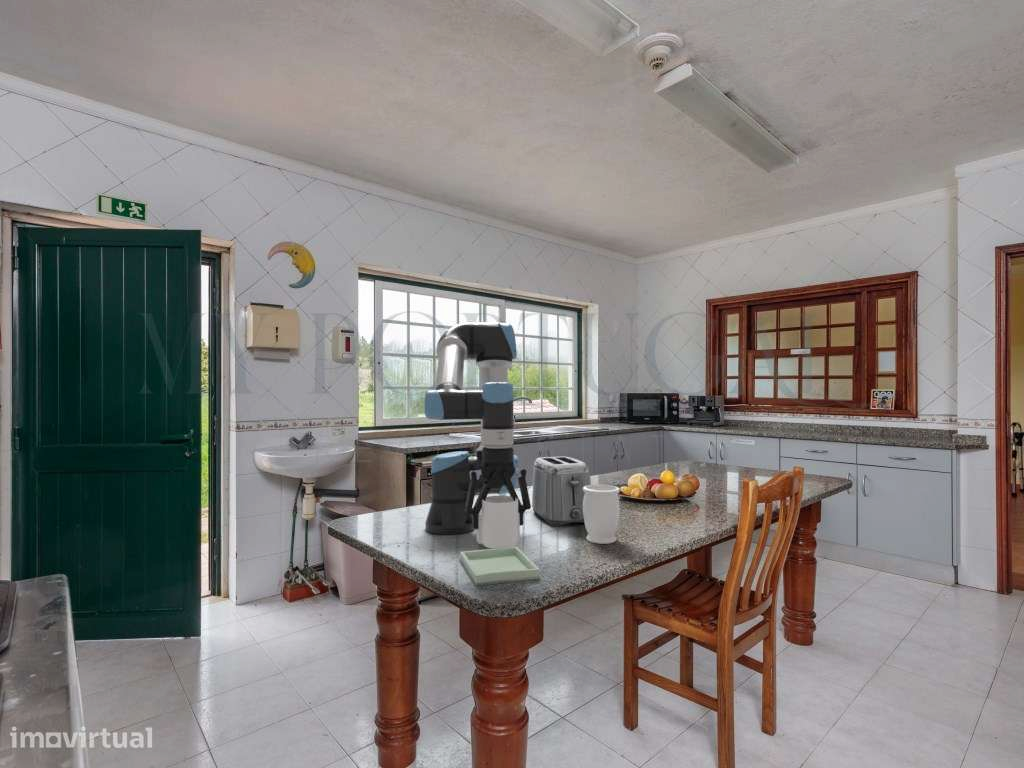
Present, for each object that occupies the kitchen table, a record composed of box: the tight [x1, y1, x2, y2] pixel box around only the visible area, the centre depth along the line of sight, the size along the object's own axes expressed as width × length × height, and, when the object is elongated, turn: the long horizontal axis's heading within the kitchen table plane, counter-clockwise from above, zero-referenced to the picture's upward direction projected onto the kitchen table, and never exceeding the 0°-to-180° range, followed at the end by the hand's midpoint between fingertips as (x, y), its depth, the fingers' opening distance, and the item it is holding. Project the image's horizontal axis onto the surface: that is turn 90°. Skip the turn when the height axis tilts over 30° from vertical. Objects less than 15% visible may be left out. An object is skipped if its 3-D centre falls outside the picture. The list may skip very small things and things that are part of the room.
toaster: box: [531, 455, 592, 527], centre depth 182 cm, size 17×30×19 cm, turn 14°
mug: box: [481, 495, 519, 549], centre depth 130 cm, size 9×12×11 cm
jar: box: [583, 484, 621, 545], centre depth 155 cm, size 11×10×15 cm
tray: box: [459, 546, 541, 587], centre depth 130 cm, size 18×15×2 cm
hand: (498, 540), depth 130 cm, fingers closed on mug, 9 cm apart
